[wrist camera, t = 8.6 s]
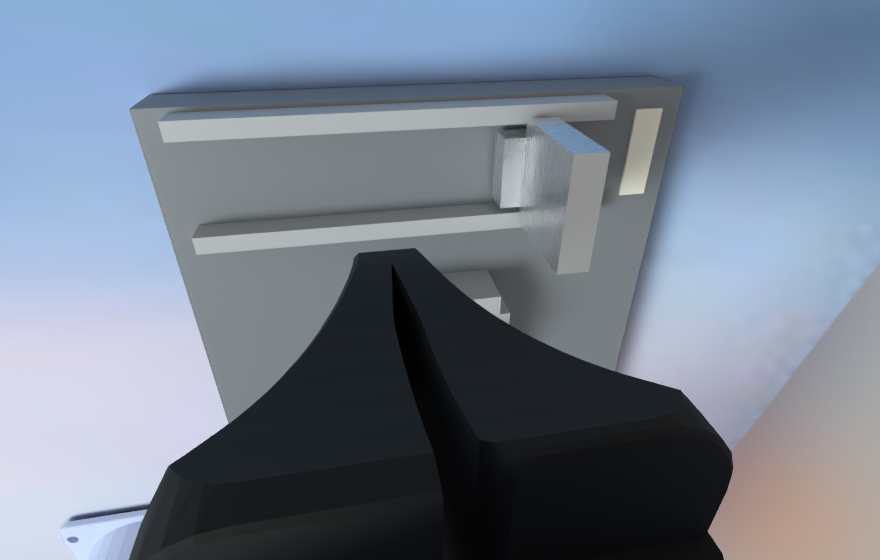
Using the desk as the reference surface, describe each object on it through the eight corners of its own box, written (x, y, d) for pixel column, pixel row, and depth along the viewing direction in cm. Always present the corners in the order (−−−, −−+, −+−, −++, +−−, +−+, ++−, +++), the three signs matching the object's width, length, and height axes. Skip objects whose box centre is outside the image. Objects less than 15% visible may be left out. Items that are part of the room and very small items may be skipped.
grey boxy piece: (553, 207, 19) (611, 269, 15) (491, 212, 19) (534, 276, 15) (566, 108, 17) (635, 150, 13) (497, 111, 17) (547, 155, 13)
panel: (581, 417, 29) (614, 476, 26) (257, 466, 26) (247, 539, 23) (653, 75, 19) (721, 98, 16) (149, 94, 17) (104, 127, 13)
